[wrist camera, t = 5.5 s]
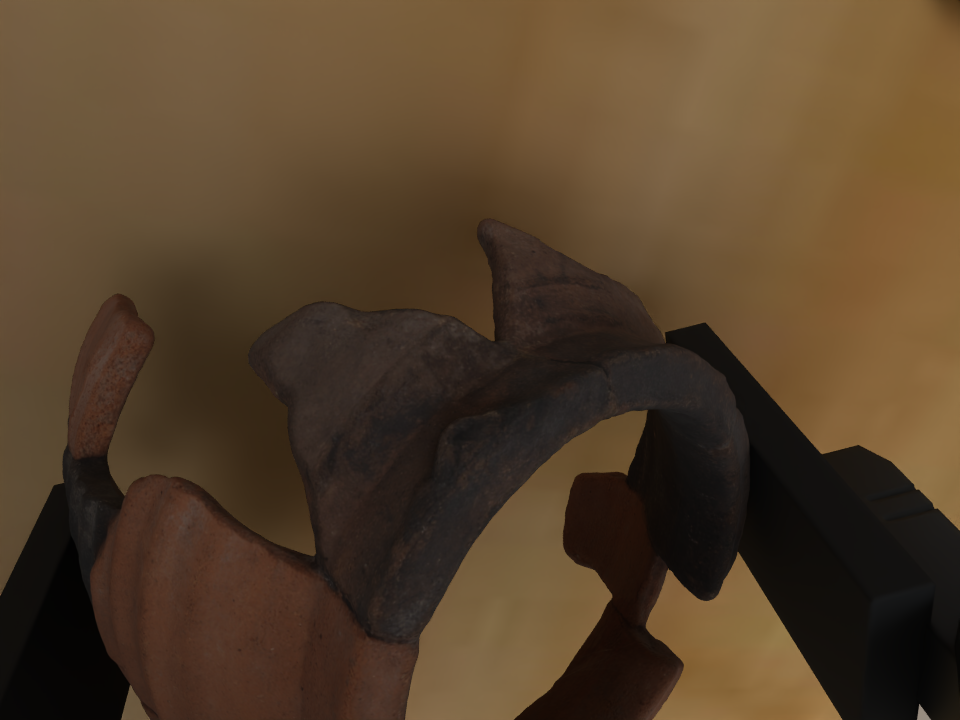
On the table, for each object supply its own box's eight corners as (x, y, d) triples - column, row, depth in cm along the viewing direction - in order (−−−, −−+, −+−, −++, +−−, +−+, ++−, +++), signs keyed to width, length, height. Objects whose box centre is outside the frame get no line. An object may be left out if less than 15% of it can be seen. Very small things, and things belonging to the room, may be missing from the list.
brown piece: (78, 86, 12) (404, 195, 6) (516, 225, 18) (871, 338, 13) (-71, 786, 14) (67, 1358, 8) (371, 683, 20) (618, 959, 15)
